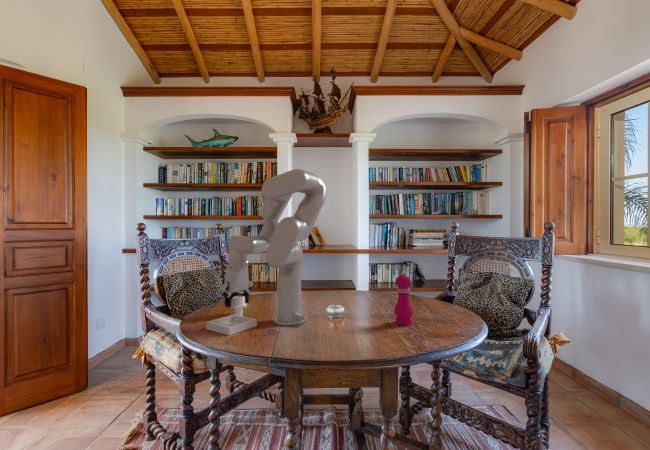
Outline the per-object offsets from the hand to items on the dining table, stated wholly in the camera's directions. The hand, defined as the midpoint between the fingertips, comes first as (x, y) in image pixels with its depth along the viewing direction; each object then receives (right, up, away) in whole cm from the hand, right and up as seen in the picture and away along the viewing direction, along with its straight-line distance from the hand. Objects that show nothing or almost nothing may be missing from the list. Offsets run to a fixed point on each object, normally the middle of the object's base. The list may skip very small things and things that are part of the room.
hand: (236, 304), depth 145 cm
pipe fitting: (+1, -5, 0) cm, 5 cm away
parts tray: (+3, -5, -17) cm, 18 cm away
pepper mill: (+68, -4, -14) cm, 70 cm away
